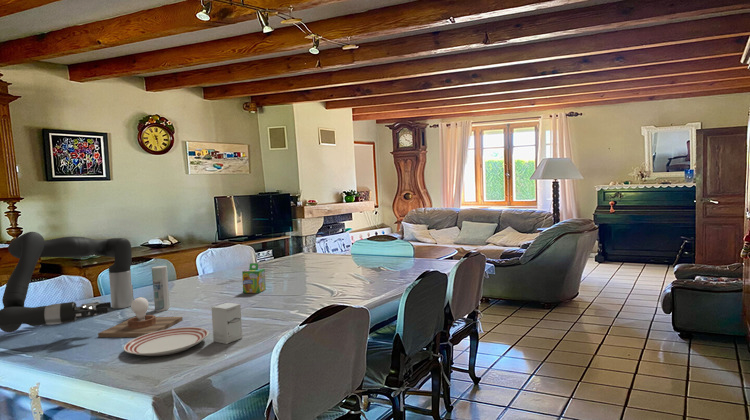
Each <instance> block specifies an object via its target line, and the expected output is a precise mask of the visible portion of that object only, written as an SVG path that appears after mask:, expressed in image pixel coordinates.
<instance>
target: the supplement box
mask: <svg viewBox="0 0 750 420" xmlns="http://www.w3.org/2000/svg"><path fill="white" fill-rule="evenodd" d="M241 310H242V308H241V304H240V303H235V302H233V303H232V302H225V303H221V304H218V305H215V306H212V307H211V317H212V318H211V321H212V341H213V342H215V343H219V344H224V345H228V344H230V343H232V342H235V341H238V340H241V339H242V338H243V326H242V311H241Z"/></svg>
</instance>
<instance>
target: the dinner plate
mask: <svg viewBox="0 0 750 420" xmlns="http://www.w3.org/2000/svg"><path fill="white" fill-rule="evenodd" d="M208 330H209V329H206V328H204V327H199V326H198V327H197V326H183V327H182V326H181V327H180V326H179V327H173V328H172V327H171V328H167V329H165V330H161V331H156V332H152V333H149V334H145V335H142V336H140V337H134V338H133V339H131V340H129V341H128V342H126V343H125V344H124V346H123V351H124V352H125V353H128V354H133V355H137V356H147V357H159V356H167V355H174V354H178V353H181V352H183V351H186V350H190V348H192V347H195V346H196V345H198V344H199V343H202V342H203V341H204V340H205V339H206V338H207V337H208V336H209V333H210V331H208Z"/></svg>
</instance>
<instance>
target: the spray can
mask: <svg viewBox="0 0 750 420" xmlns="http://www.w3.org/2000/svg"><path fill="white" fill-rule="evenodd" d="M168 274H169V273H168V266H167V265H157V266H152V267H151V276H152V277H151V278H152V289H153V291H152V292H153V301H154V303H153V304H154V311H155V312H164V311H165V310H166V311H168V309H169V308H171V307H170V296H169V295H170V293H169V292H170V291H169V279H168V278H169V276H168ZM169 310H170V309H169Z"/></svg>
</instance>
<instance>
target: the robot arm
mask: <svg viewBox="0 0 750 420" xmlns="http://www.w3.org/2000/svg"><path fill="white" fill-rule="evenodd" d="M7 248H8V249H7V250H8V253H9V254H10V255H11V256H13V257H15V259H19V260H18V262H17V264H16V265H15V267H14V269H13V271H12V272H11V274H10V276H9V278H8V280H7V282H6V285H5V288H4V291H3V295H2V301H1V302H2V305H3V308H0V330H1V331H2V332H4V333H12V332H15V331H17V330H19V329H20V328H21V326H22V325H28V326H29V327H40V326H45V325H46V326H47V325H57V324H58V325H59V324H66V323H73V322H74V323H75V322H76V321H77V319H81V318H83V319H84V318H89V317H92V318H93V317H94V316H96V315H100V314H101V315H103V314H108V313H109V309H113V310H114V309H125V308H131V304H132V302H133V300H134V298H135V297H134V287H133V284H132V274H131V273H132V272H131V266H132V263H133V261H132V258H133V257H132V245H131V242H130V240H129V239H128V238H125V237H124V238H123V237H117V238H116V237H114V238H104V239H94V238H93V239H92V238H89V237H85V236H62V237H56V238H53V239H46V240H45V238H44V237H43V235H41V234H40V233H38V231H28V232H25V233H23V234H21V235H20V236H17V237H16V238H14V239H13V240H11V242H9V244H8V247H7ZM91 256H100V257H101V256H102V257H108V258H109V257H110V258H114V262H113V263H112V264H111V265H109V267H108V277H109V279H108V280H109V290H110V291H109V292H110V301H111V302H110V301H107V302H99V301H96V302H90V303H89V302H88V303H82V304H81V305H80V306H77V303H76V302H75V301H68V302H61V303H54V304H48V305H41V306H40V305H39V306H35V307H31V306H29V307H28V306H25V302H26V298H27V295H28V291H29V286H30V284H31V279H32V276H33V274H34V271H35V268H36V267H37V264H38V262H39V259H40V258H87V257H91Z"/></svg>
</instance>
